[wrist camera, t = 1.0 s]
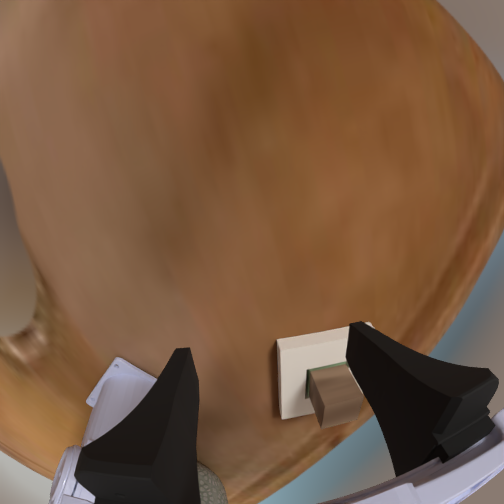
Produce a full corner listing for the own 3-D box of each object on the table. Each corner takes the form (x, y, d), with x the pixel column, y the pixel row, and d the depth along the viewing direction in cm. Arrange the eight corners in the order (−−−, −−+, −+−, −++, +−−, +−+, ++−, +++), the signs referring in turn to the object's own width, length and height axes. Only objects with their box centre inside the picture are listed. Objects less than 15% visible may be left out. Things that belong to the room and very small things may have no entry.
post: (337, 378, 28) (357, 419, 22) (304, 385, 27) (320, 429, 22) (340, 353, 26) (364, 395, 21) (305, 360, 26) (324, 406, 20)
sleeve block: (355, 391, 29) (361, 402, 27) (278, 408, 28) (282, 420, 26) (369, 321, 25) (377, 332, 24) (276, 339, 25) (280, 352, 23)
